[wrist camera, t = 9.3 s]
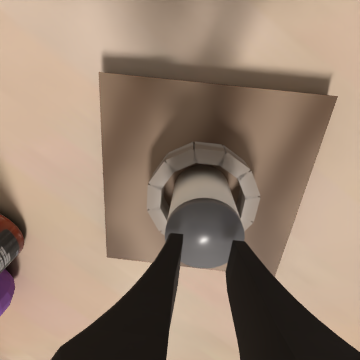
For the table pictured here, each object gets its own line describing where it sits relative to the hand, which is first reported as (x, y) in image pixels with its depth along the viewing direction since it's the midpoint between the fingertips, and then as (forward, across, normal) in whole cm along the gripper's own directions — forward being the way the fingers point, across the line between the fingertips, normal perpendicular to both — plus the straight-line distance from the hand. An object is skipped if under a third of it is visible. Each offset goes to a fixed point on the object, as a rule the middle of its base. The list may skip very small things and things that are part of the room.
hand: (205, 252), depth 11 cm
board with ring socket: (+8, 0, 0) cm, 8 cm away
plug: (+7, 0, 0) cm, 7 cm away
